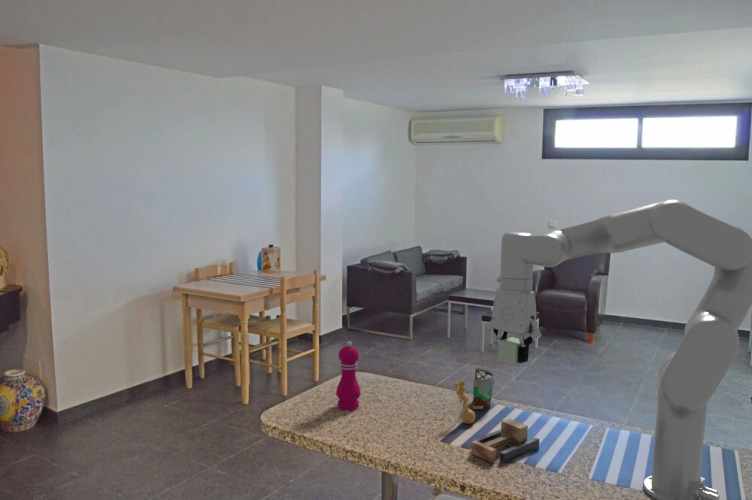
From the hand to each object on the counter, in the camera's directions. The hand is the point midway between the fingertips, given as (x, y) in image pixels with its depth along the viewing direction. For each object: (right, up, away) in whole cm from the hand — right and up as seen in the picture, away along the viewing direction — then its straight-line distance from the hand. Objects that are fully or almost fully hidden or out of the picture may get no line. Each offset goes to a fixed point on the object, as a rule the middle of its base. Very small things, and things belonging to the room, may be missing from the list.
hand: (513, 358), depth 148 cm
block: (0, -1, 0) cm, 1 cm away
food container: (0, -21, +38) cm, 43 cm away
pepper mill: (-41, -21, +35) cm, 58 cm away
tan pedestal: (-2, -24, +7) cm, 25 cm away
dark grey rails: (0, -25, +9) cm, 26 cm away
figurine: (-8, -23, +25) cm, 35 cm away
